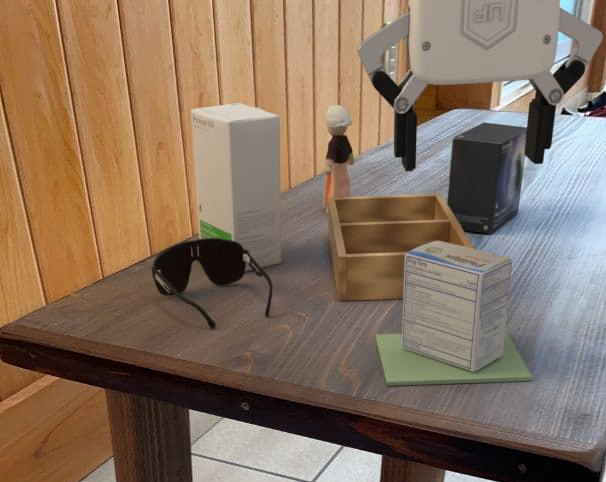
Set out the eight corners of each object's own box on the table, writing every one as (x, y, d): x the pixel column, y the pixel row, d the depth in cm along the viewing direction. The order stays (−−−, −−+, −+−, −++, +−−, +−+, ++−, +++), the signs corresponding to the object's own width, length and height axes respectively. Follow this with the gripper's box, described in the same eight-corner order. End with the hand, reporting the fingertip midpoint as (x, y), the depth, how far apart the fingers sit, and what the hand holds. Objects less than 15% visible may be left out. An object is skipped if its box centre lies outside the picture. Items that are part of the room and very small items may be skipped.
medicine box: (503, 358, 73) (515, 257, 68) (473, 375, 71) (483, 271, 65) (430, 334, 78) (437, 238, 73) (399, 349, 75) (403, 250, 70)
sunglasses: (241, 276, 93) (240, 231, 89) (290, 325, 85) (291, 278, 82) (149, 294, 89) (144, 247, 86) (191, 347, 81) (188, 299, 78)
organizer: (438, 231, 104) (441, 193, 102) (472, 296, 86) (476, 251, 84) (328, 235, 104) (327, 197, 102) (338, 301, 86) (338, 256, 84)
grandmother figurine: (330, 202, 117) (329, 100, 109) (358, 204, 116) (359, 100, 108) (316, 218, 111) (314, 110, 103) (344, 220, 110) (344, 111, 102)
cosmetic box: (199, 256, 99) (185, 108, 90) (247, 245, 102) (238, 101, 93) (237, 275, 93) (226, 119, 84) (287, 263, 96) (281, 111, 87)
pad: (505, 333, 78) (505, 329, 78) (531, 381, 70) (532, 376, 70) (375, 338, 78) (375, 334, 78) (386, 386, 70) (387, 381, 70)
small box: (493, 236, 103) (503, 141, 96) (442, 229, 105) (449, 137, 99) (521, 213, 110) (532, 124, 104) (473, 208, 113) (481, 121, 106)
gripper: (361, -111, 52) (362, 182, 62) (642, -128, 52) (598, 169, 62) (352, -109, 58) (354, 158, 68) (604, -124, 58) (569, 146, 68)
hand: (470, 163), depth 65 cm, fingers open, 9 cm apart
